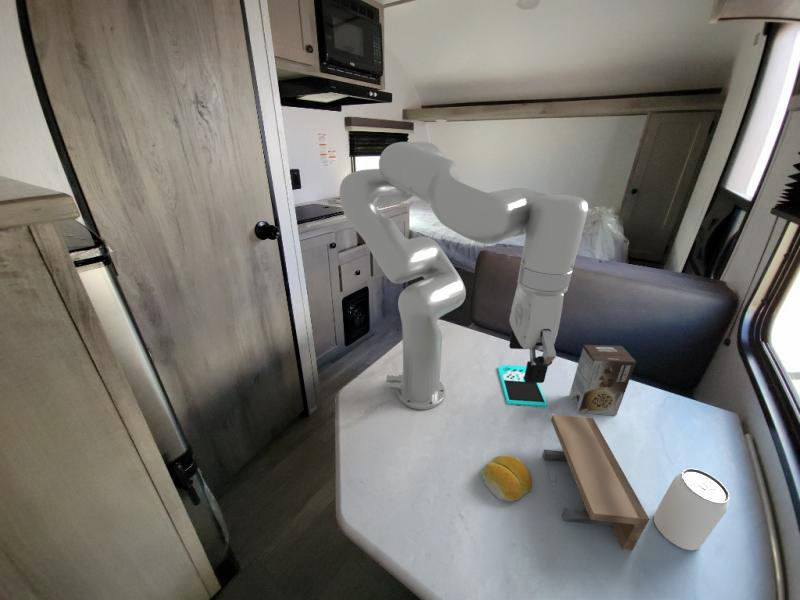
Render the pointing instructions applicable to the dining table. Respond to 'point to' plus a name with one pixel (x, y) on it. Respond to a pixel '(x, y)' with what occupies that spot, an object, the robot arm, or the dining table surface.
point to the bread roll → (507, 478)
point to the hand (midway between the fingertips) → (524, 363)
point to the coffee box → (601, 379)
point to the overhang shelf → (597, 480)
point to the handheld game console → (520, 387)
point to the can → (691, 508)
